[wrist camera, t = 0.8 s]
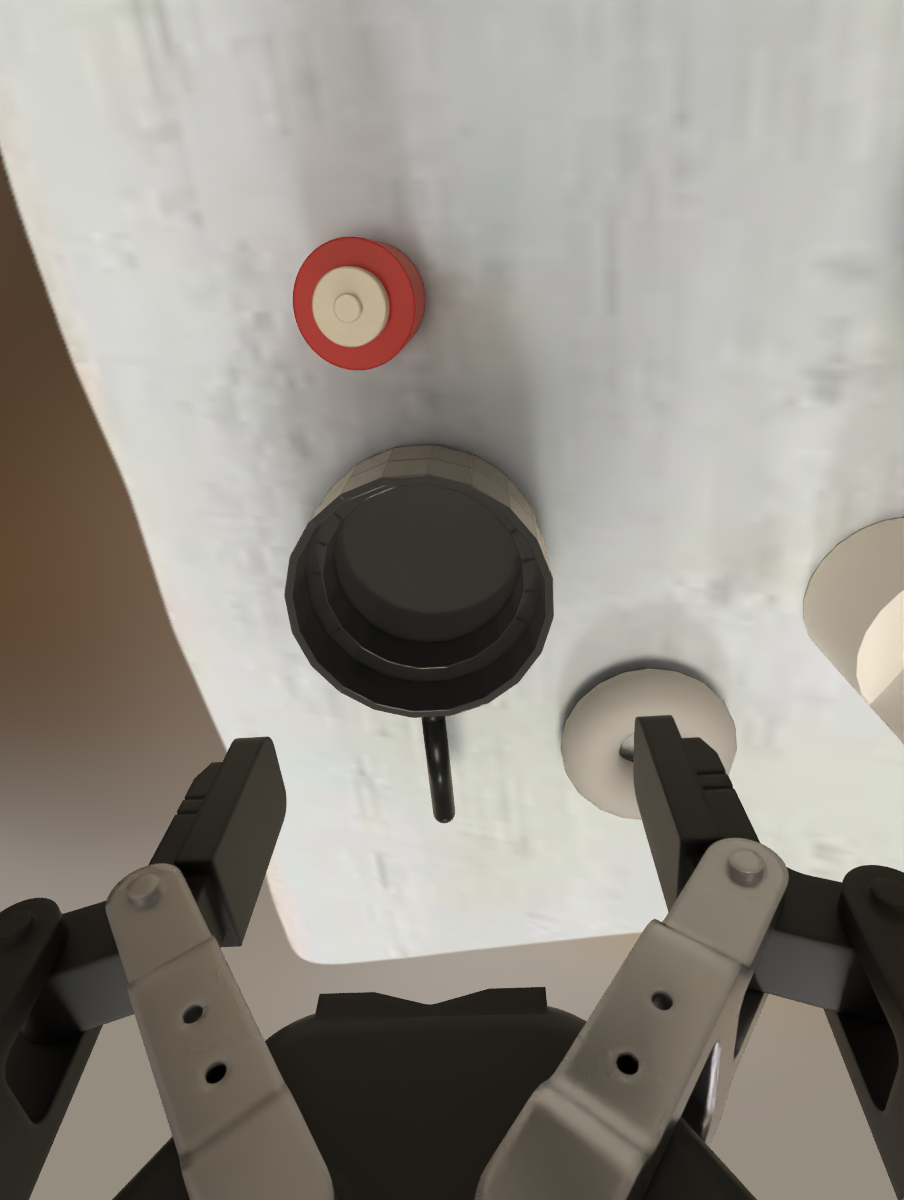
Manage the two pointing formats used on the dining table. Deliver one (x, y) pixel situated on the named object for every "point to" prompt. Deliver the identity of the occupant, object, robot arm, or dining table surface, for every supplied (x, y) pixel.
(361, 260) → the ketchup bottle
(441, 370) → the dining table surface
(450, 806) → the handle
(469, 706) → the grey round hollow bowl
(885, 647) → the beige cylinder
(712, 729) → the donut
